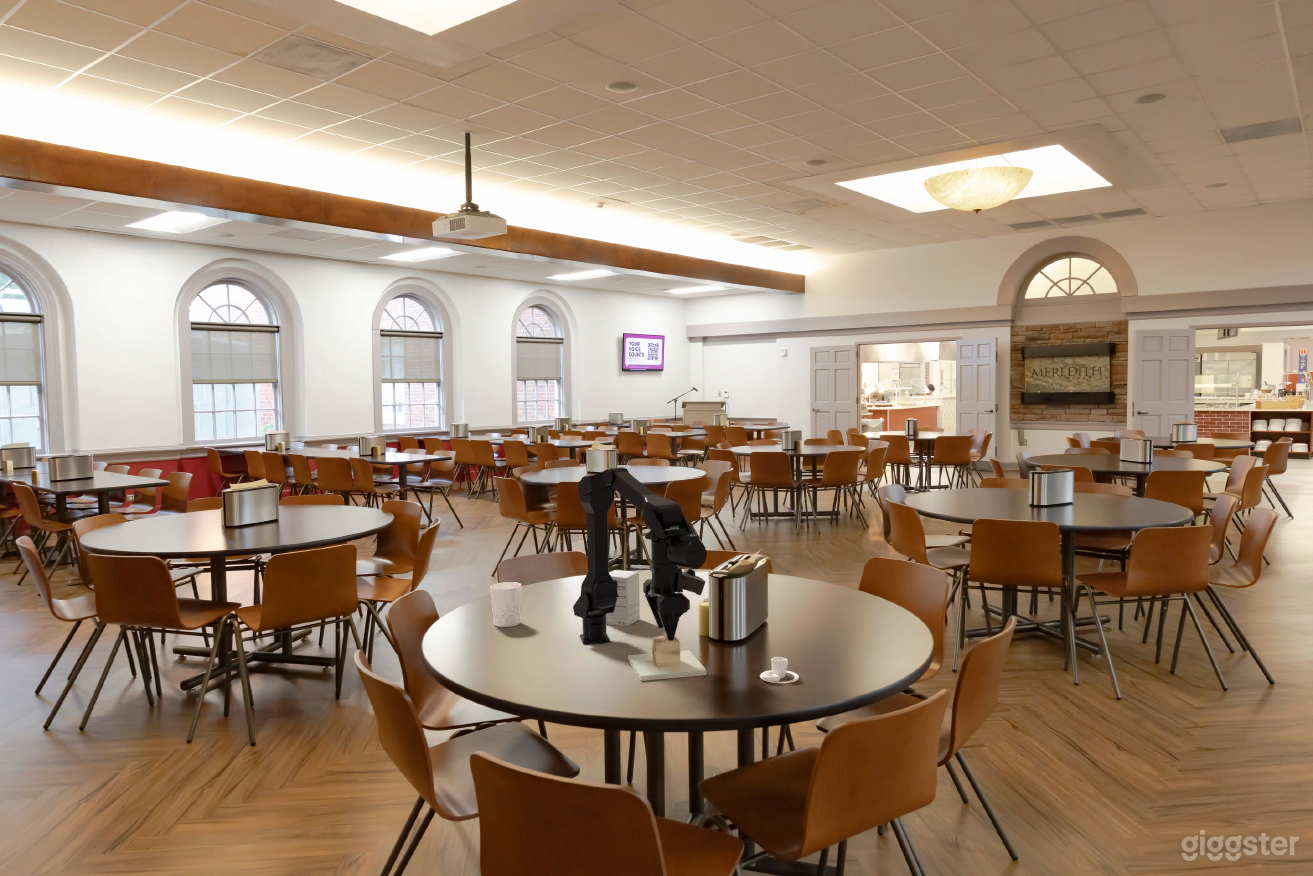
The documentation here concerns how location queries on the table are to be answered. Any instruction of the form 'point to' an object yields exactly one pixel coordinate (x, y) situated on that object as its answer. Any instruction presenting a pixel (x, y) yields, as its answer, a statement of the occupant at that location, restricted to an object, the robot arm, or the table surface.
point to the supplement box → (625, 599)
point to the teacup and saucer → (778, 671)
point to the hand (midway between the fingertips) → (666, 634)
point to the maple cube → (665, 651)
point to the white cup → (506, 603)
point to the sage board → (666, 667)
